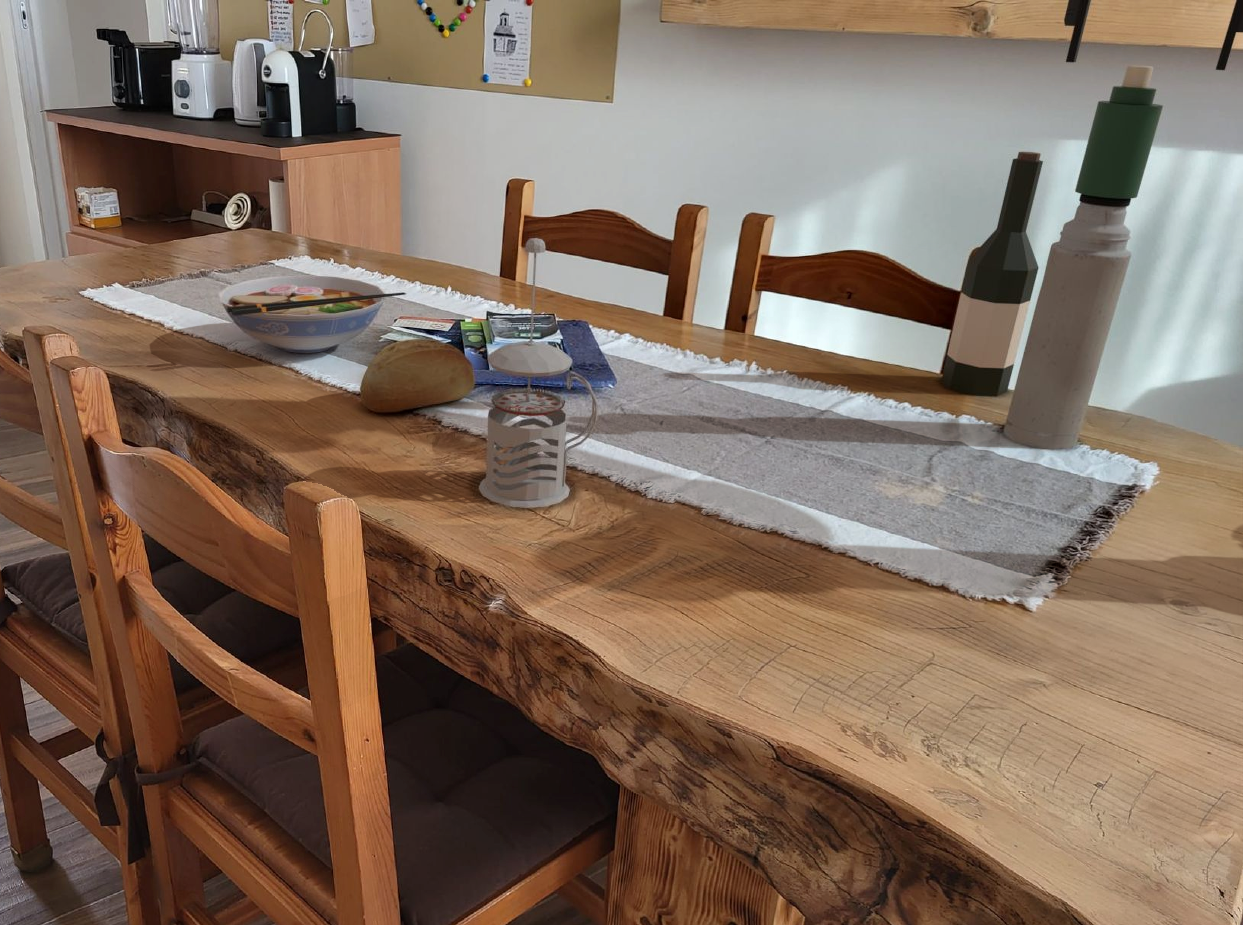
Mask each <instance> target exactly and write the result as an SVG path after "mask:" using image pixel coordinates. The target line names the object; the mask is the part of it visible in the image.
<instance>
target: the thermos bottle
mask: <svg viewBox="0 0 1243 925" xmlns="http://www.w3.org/2000/svg"><path fill="white" fill-rule="evenodd" d="M1078 200H1079V205H1078V206H1077V207H1076V211H1075V214H1074V218H1073V219H1071V220H1069V221H1066V222H1065V223H1064V224H1063V226H1062V230H1061V231H1060V232H1059V235H1060V238H1059V241H1056V242H1053V243H1051V245H1050V248H1049V253H1048V257H1047V260H1046V265H1045V270H1044V274H1043V279H1042V283H1041V286H1040V289H1039V293H1038V296H1037V300H1036V303H1035V308H1034V312H1033V316H1032V319H1031V322H1030V327H1029V332H1028V335H1027V338H1026V343H1025V346H1024V350H1023V354H1022V358H1021V362H1020V366H1019V370H1018V373H1017V378H1016V382H1015V385H1014V388H1013V393H1012V398H1011V401H1010V405H1009V409H1008V412H1007V416H1006V420H1005V424H1004V429H1003V434H1004V435H1005V437H1007V438H1008V439H1010V440H1012V441H1014V442H1016V443H1018V444H1022V445H1025V446H1029V447H1033V448H1037V449H1044V450H1056V451H1059V450H1060V451H1061V450H1069V449H1070V450H1071V449H1072V448H1075V447H1076V446H1077V445H1078V444H1077V443H1078V440H1079V437H1080V433H1081V430H1082V427H1083V423H1084V420H1085V416H1086V412H1087V409H1088V406H1089V402H1090V398H1091V396H1092V392H1093V388H1094V385H1095V382H1096V378H1097V375H1098V371H1099V369H1100V368H1099V367H1100V364H1101V361H1102V357H1103V354H1104V351H1105V347H1106V343H1107V340H1108V337H1109V333H1110V330H1111V326H1112V322H1113V320H1114V317H1115V312H1116V309H1117V306H1118V302H1119V299H1120V297H1121V296H1120V295H1121V292H1122V288H1123V285H1124V283H1125V282H1124V281H1125V278H1126V274H1127V271H1128V267H1129V266H1130V265H1129V264H1130V262H1131V258H1132V251H1130V250H1129V249H1127V246H1128V242H1129V240H1131V230H1130V229H1129V228H1128V227H1127V226H1126V225H1125V220H1126V216H1127V212H1128V211H1127V207H1129V206H1130V204H1131V201H1132V198H1131V199H1119V198H1105V197H1096V196H1089V195H1084V194H1080V196H1079V199H1078Z"/></svg>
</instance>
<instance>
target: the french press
mask: <svg viewBox="0 0 1243 925" xmlns="http://www.w3.org/2000/svg"><path fill="white" fill-rule="evenodd" d="M524 247H525V248H524V251H525V252H526V253H531V254H533V271H532V272H533V273H532V293H531V312H530V313H531V314H530V334H529V340H522V341H517V342H511V343H508V344H505V345H502V346H499V348H497V349H495V350H493V351H492V352H490V353H489V355H488V357H487V362H488V363H489V366H490V367H491V368H492V369H494V370H496V371H497V372H500V373H502V374H507V375H511V376H515V377H527V378H528V380H527V387H526V388H525V387H523V388H522V387H521V388H520V387H516V388H515V387H514V388H508V389H505V390H504V389H503V390H502V391H498V392H496V393H494V394H493V395H492V397H491V399H490V401H491V403H492V404H493V406H494V407H492V408H491V409H490V410H488V413H487V437H486V464H485V466H486V470H485V471H486V472H485V478H483V480H481V481H480V484H479V486H478V491H479V492H480V493H481V495H482V496H483V497H484V498H486V499H488V500H489V501H491V502H493V503H496V504H500V505H503V506H507V507H513V508H527V509H530V508H542V507H543V508H544V507H545V508H546V507H548V506H549V507H550V506H552V505H555V504H558V503H561V502H563V501H564V500H565V499H566V498H568V497H569V493H570V490H571V489H570V487H569V486H568V485H567V484H566V472H567V456H568V452H569V451H570V450H572V449H574V448H577V447H578V446H580V445H582V444H583V443H584V442H585V441H586V440H587V439H588V438H590V436H591V434H592V433H593V431H594V429H595V427H596V424H597V421H598V410H599V409H598V408H599V406H598V400H597V396H596V395H595V393H594V390H593V389H592V387H591V383H589V381H587V379H586V378H585V377H583V376H582V375H580V374H578V373H577V372H576V371H569V370H570V368H571V366H572V364H573V359H572V358H571V357H570V356H569V355H568V354H567V353H566V352H564V350H562V349H560V348H557V347H555V346H553V345H551V344H549V343H547V342H543V341H534V340H533V334H534V312H535V295H536V294H535V292H536V291H535V290H536V273H537V272H536V270H537V269H536V268H537V254H542V253H546V242H545V241H544V240H543V239H542V238H537V237H534V238H533V237H532V238H529V239H527V241H526V243H525V246H524ZM567 371H568V372H567ZM565 372H567V374H566V378H565V379H566V380H565V381H566V384H565V385H566V388H567V390H568V391H570V390H571V389H572V381H577V382H579V383H581V384H582V385H583V386H585V388H586V389H587V390H588V391H589V393H590V395H591V400H592V402H591V403H592V406H591V408H592V409H591V415H590V418H589V420H588V422H587V424H586V426H585V427H584V430H583V431H581V432H579V434H577V435H575V436H574V437H571V438H570V439H569V438H568V439H567V440H566V434H567V433H566V432H567V421H568V420H567V419H568V418H567V414H566V413H565V411H564V410H563V409H564V407H565V405H566V404H565V403H566V400H565V399H564V398H563V397H562V395H560V394H558V393H555V392H553V391H551V390H547V389H546V390H544V389H542V390H541V388H536V389H535V388H532V387H531V378H538V377H539V378H540V377H552V376H557V375H561V374H563V373H565ZM571 375H573V376H571ZM570 376H571V377H570ZM519 416H525V417H526V416H527V417H531V418H524V419H520V420H519V421H516V422H514V423H512V424H511V425H505V424H507V423H508V422H510V421H511V420H513V419H515V418H517V417H519ZM538 416H544V417H546V418H547V419H548V420H550V421H551V422H552V423H551V424H552V425H550V424H549V423H547V422H546V421H543V420H541V419H537V418H535V417H538ZM591 424H592V425H591ZM532 425H534V426H537V427H540V428H525V427H527V426H532ZM590 426H591V427H590ZM522 427H524V428H522ZM589 428H590V429H589ZM588 430H589V431H588ZM587 432H588V433H587ZM585 433H587V435H586V436H585V437H584V438H582V439H581V440H580V441H578V442H576V443H574V444H572V445H569V446H568V447H567V448H566V446H567V445H568V444H570V443H572V442H574V441H576V440H578V439H579V438H581V437H582V436H583V435H584V434H585ZM537 440H542V441H544V442H545V443H547V444H541V443H538V442H535V441H537ZM504 448H509V449H508V450H506V451H504V452H502V453H500V452H499V451H500V450H502V449H504ZM540 452H541V453H543V454H545V455H546V456H548V457H544V456H542V455H538V454H536V453H540ZM500 461H505V463H503V464H501V465H500V464H499V462H500Z"/></svg>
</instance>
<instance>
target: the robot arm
mask: <svg viewBox="0 0 1243 925" xmlns="http://www.w3.org/2000/svg"><path fill="white" fill-rule="evenodd" d="M1091 2H1092V0H1068V2H1067V6H1066V11H1065V14H1064V19H1063V23H1064V26H1065V27H1073V30H1072V34H1071V37H1070V38H1071V39H1070V43H1069V47H1068V51H1067V53H1066V54H1067V55H1066V59H1065V63H1076V62H1077V59H1078V56H1079V52H1080V47H1081V43H1082V38H1083V36H1084V35H1083V34H1084V31H1085V26H1086V23H1087V18H1088V15H1089V10H1090V6H1091ZM1237 33H1242V34H1243V0H1235V3H1234V7H1233V10H1232V14H1231V17H1230V20H1229V23H1228V26H1227V30H1226V33H1225V37H1224V40H1223V43H1222V47H1221V49H1220V53H1219V57H1218V60H1217V63H1216V66H1215V71H1225V70H1226V68H1227V65H1228V62H1229V58H1230V54H1231V51H1232V48H1233V45H1234V41H1235V38H1236V34H1237Z"/></svg>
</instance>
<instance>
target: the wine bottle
mask: <svg viewBox="0 0 1243 925" xmlns="http://www.w3.org/2000/svg"><path fill="white" fill-rule="evenodd" d="M1040 158H1041V153H1040V152H1034V151H1018V153H1017V157H1016V158H1012V160H1011V165H1010V169H1009V173H1008V174H1009V175H1008V179H1007V183H1006V187H1005V191H1004V196H1003V201H1002V205H1001V208H1000V214H999V216H998V217H999V218H998V220H997V221H998V222H997V226H996V228H995V229H994V231H993V232H992V233H991V234H990V235H989V237H988V238H987V239H985V241H984V242H983V243H982V244H981V245H980V247H978V248H977V250H975V252H974V253H973V254H972V255H971V256H970V257H969V259H968V261H967V264H966V269H965V274H964V278H963V282H962V286H961V292H960V294H959V300H958V304H957V309H956V312H955V317H954V323H953V327H952V332H951V336H950V340H949V344H948V349H947V353H946V357H945V363H944V367H943V371H942V374H941V375H942V376H941V380H940V383H941V384H942V385H943V386H945V387H946V389H948V390H950V391H954V392H957V393H960V394H965V395H969V396H971V397H972V396H973V397H995V398H996V397H1000V396H1001V395H1004V394H1006V393H1007V392H1008V390H1009V386H1010V382H1011V378H1012V375H1013V370H1014V366H1015V363H1016V359H1017V354H1018V351H1019V347H1020V342H1021V338H1022V334H1023V330H1024V327H1025V322H1026V320H1027V316H1028V310H1029V307H1030V303H1031V299H1032V295H1033V291H1034V287H1035V284H1036V280H1037V276H1038V271H1039V265H1038V262H1037V259H1036V256H1035V253H1034V251H1033V248H1032V245H1031V242H1030V239H1029V237H1028V234H1027V233H1028V232H1027V228H1028V224H1029V221H1030V216H1031V213H1032V209H1033V204H1034V200H1035V195H1036V192H1037V188H1038V184H1039V179H1040V176H1041V171H1042V168H1043V163H1044V161H1043V160H1040Z"/></svg>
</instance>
